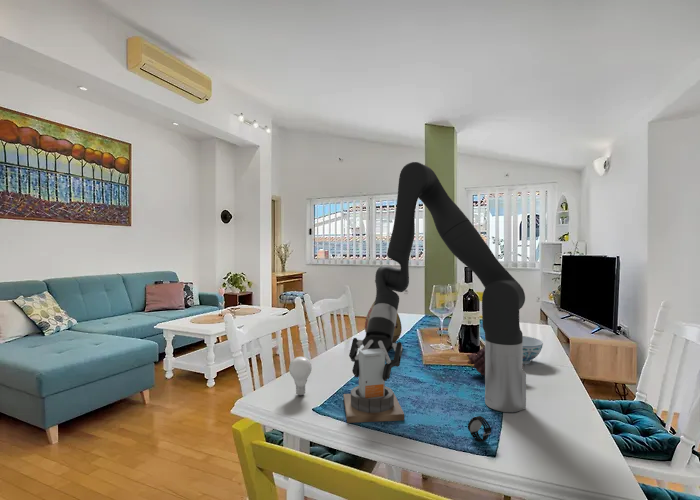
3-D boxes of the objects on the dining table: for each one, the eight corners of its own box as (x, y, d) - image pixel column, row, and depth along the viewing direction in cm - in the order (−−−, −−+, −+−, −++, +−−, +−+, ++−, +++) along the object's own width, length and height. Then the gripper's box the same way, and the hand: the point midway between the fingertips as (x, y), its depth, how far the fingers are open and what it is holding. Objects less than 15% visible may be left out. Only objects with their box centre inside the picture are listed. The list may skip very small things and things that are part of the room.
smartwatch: (483, 434, 86) (483, 412, 86) (492, 446, 81) (492, 423, 81) (465, 435, 86) (465, 413, 86) (473, 447, 81) (473, 423, 81)
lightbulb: (284, 397, 108) (284, 358, 108) (298, 389, 114) (297, 352, 114) (303, 401, 105) (303, 361, 105) (316, 393, 111) (315, 355, 111)
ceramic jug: (364, 341, 170) (364, 273, 169) (399, 341, 169) (399, 273, 169) (364, 352, 153) (364, 276, 152) (403, 352, 152) (403, 276, 152)
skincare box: (363, 401, 97) (362, 354, 97) (358, 394, 102) (358, 349, 101) (385, 398, 99) (385, 352, 99) (380, 392, 103) (379, 347, 103)
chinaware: (498, 365, 135) (498, 343, 135) (497, 353, 149) (497, 334, 149) (546, 369, 130) (546, 347, 130) (539, 357, 144) (539, 336, 144)
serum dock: (393, 397, 108) (393, 381, 108) (404, 420, 94) (404, 401, 94) (343, 399, 107) (343, 383, 106) (347, 422, 93) (347, 404, 92)
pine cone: (525, 377, 123) (525, 346, 123) (520, 387, 114) (520, 354, 114) (469, 368, 132) (469, 339, 132) (461, 376, 124) (461, 345, 124)
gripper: (355, 314, 109) (340, 367, 99) (405, 317, 104) (394, 374, 94) (361, 328, 114) (347, 381, 104) (409, 332, 109) (399, 387, 99)
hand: (370, 377), depth 99 cm, fingers closed on skincare box, 7 cm apart
